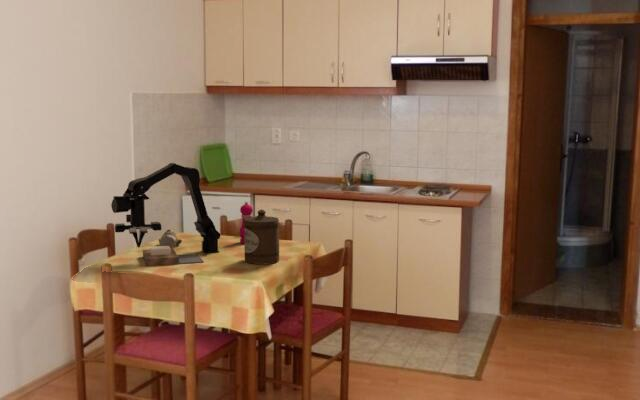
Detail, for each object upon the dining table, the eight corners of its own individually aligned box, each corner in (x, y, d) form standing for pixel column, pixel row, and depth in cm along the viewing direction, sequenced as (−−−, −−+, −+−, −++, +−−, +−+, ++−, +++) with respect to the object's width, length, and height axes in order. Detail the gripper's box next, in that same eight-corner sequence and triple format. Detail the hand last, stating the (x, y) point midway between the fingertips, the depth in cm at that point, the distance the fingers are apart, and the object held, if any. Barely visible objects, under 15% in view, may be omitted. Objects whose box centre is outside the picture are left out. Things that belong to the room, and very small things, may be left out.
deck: (173, 255, 324) (173, 248, 324) (178, 264, 307) (178, 257, 307) (143, 256, 320) (142, 250, 319) (146, 266, 303) (146, 258, 303)
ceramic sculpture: (154, 231, 332) (160, 227, 346) (154, 250, 332) (160, 245, 347) (178, 231, 332) (182, 227, 347) (178, 250, 333) (182, 245, 348)
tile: (169, 251, 317) (168, 245, 317) (170, 254, 311) (170, 248, 311) (150, 252, 315) (149, 246, 314) (151, 255, 309) (151, 249, 309)
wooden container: (240, 258, 319) (239, 208, 316) (272, 255, 325) (272, 206, 322) (250, 265, 305) (250, 213, 302) (284, 262, 311) (284, 211, 308)
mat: (197, 254, 325) (197, 253, 325) (203, 262, 310) (203, 261, 310) (174, 255, 322) (174, 255, 322) (179, 264, 307) (179, 263, 307)
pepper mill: (251, 244, 348) (251, 202, 345) (237, 243, 350) (236, 202, 347) (256, 241, 355) (255, 200, 352) (241, 240, 357) (241, 200, 354)
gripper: (158, 206, 318) (159, 242, 320) (113, 208, 312) (114, 244, 315) (161, 210, 308) (161, 247, 310) (114, 212, 302) (116, 250, 304)
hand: (138, 247), depth 310 cm, fingers closed
